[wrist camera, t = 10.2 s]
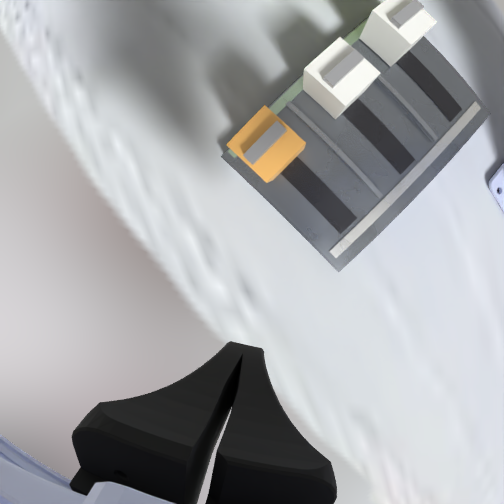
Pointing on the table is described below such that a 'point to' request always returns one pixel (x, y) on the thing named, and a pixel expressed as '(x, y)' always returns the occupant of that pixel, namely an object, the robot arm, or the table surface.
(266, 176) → the breaker orange
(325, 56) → the white breaker
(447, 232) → the table surface
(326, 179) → the panel
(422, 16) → the white breaker
